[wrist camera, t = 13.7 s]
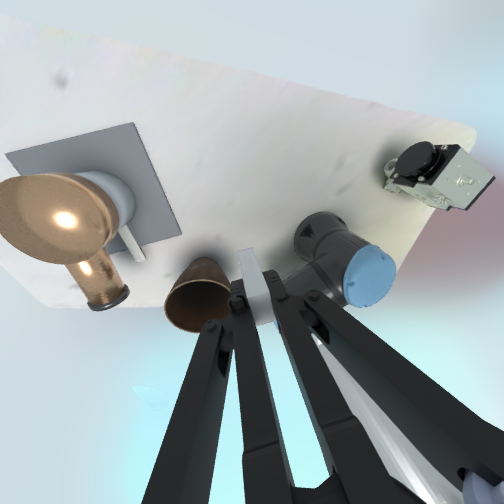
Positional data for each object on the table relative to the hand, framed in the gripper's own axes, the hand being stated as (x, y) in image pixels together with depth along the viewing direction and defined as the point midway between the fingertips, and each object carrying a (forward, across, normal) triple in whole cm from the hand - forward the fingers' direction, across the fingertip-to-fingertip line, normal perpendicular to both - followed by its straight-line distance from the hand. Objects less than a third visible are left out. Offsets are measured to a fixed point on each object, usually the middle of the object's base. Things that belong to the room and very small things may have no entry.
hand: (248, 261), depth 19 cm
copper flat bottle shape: (+22, -27, +1) cm, 34 cm away
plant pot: (+33, -12, -18) cm, 39 cm away
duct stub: (+32, -26, +4) cm, 42 cm away
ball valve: (+33, +44, -6) cm, 55 cm away
